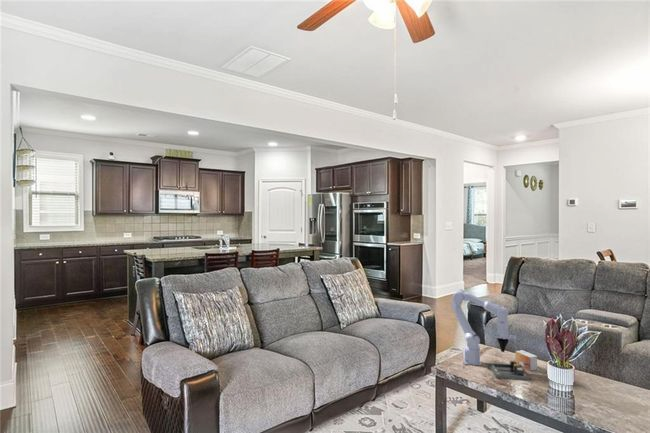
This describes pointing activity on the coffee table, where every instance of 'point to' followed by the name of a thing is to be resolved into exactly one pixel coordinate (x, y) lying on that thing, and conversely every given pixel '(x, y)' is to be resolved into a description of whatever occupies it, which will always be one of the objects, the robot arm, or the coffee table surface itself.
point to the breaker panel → (508, 371)
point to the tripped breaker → (515, 367)
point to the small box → (526, 360)
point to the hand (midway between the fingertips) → (502, 351)
